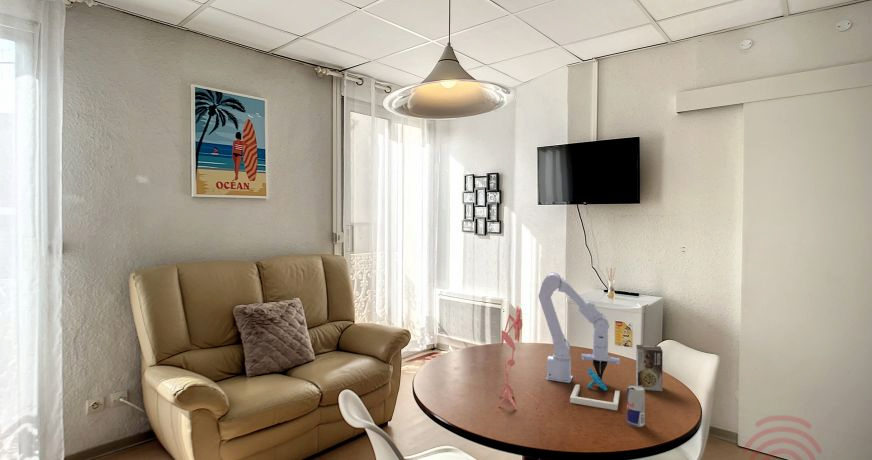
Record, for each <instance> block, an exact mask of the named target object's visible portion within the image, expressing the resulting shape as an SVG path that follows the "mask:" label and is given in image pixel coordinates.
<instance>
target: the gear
mask: <svg viewBox="0 0 872 460" xmlns="http://www.w3.org/2000/svg"><path fill="white" fill-rule="evenodd" d="M587 373H588V374H589V375H590V377H591V379H592V380H591V382H589V384H588V385H587V386H586V388H587V389H590V388H591V387H593V386H594V385H596V384H597V385H598V387H600V389H602V390H603V392H604V391H605V392H606V391H608V390H609V389H608V386H607V385H606V384H605V382H604V381H603V379H602V380H601V379H600V377H599V376H598V374H597V372H596V371H594V370H592V368H588V369H587Z"/></svg>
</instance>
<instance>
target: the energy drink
mask: <svg viewBox="0 0 872 460" xmlns="http://www.w3.org/2000/svg"><path fill="white" fill-rule="evenodd" d="M645 410H646V390H644V388H643V387H641V386H638V385H636V384H630V385H627V389H626V423H627V424H628V426H630V427H634V428H643V427H644V426H645V417H646V415H645V412H646V411H645Z"/></svg>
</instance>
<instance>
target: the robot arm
mask: <svg viewBox="0 0 872 460" xmlns="http://www.w3.org/2000/svg"><path fill="white" fill-rule="evenodd" d="M556 290H557V292H559V293H560V292H561V293H565V295H567V296H568V297H569V299H571V301H573V302H574V303H575V304H576V305H577V306H578V311H579V312H580V314H581V315H582V316H583V317H584V318H585V319H586V320H587V321H588V322H589V323H591V324H592V325H593V335H592V337H593V338H592V340H593V341H592V354H591V353H581V357H580V358H581V360H582V361H584V360H586V361H592V366H593V367H594V369H595V373H596V375H597V374H598V376H599V377H600V379H601V380H602V381H603V376H604V372H605V370H606V368H607V366H608V363H609V364H616V365H620V362H621V361H620V360H621V359H620V358H619V357H614V356H609V328H610V323H609V320H608V318H607V317H606V316H605V315H604V313H603V312H600V311H599V310H598V308H596V307H595V303H593V302H592V303H591V301H586V300H584V299H583V298H582V296H581V295H580V294H579V293H578V292H577V291H576V290H575V289H574V287H573V286H572V285H571V284H570V283H569V282H568V281H567V280H566V279H564V277H561V275H560V274H559V273H557V272H553V271H552V272H549V273H548V274H547V275H546V276H545V278H544V279H543V281H542V283H541V286H540V289H539V294H538V300H539V302H540V305H541V309H542V311H543V314H544V318H545V321H546V323H547V326H548V327H547V328H548V330H549V333H550V335H551V339H552V345H553V354H552V355H548V357H547V359H546V360H547V361H546V381H547V380H548V381H554V382H555V381H556V382H560V383H568V384H570V383H571V382H572V379H573V377H574V376H573V375H571V373H572V372H571V371H572V370H571V368H572V367H571V366H572V365H571V363H572V362H571V361H572V360H571V359H572V358H571V355H570V350H571V345H570V342H569V341H568V340H567V339H566V337H565V334H564V332H563V330H562V328H561V323H560V322H559V318H558V315H557V312H556V309H555V306H554V303H553V301H552V300H553V299H552V296H553V294H554V292H556Z"/></svg>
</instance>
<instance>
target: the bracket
mask: <svg viewBox="0 0 872 460" xmlns="http://www.w3.org/2000/svg"><path fill="white" fill-rule="evenodd" d="M580 387H581V386H580V384H578V383H577V384H575V385H574V387H573V390H572V392H571V394H570V396H569V402H570V403H571V404H576V405H577V404H578V405H584V406H588V407H593V408H598V409H599V408H600V409H607V410H612V411H618V408H619V401H620V395H621V394H620V392H621V391H620V390H615V391H614V396H613V401H605V400H599V399H593V398H589V397H587V398H586V397H583V396H582V397H580V396H578V395H579V393H580Z"/></svg>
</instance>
